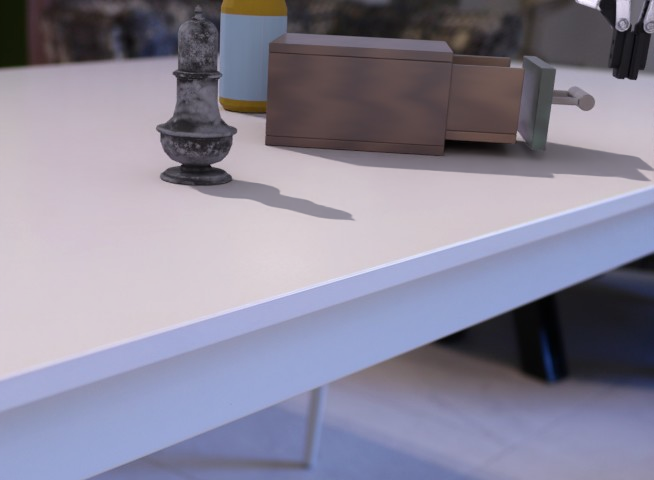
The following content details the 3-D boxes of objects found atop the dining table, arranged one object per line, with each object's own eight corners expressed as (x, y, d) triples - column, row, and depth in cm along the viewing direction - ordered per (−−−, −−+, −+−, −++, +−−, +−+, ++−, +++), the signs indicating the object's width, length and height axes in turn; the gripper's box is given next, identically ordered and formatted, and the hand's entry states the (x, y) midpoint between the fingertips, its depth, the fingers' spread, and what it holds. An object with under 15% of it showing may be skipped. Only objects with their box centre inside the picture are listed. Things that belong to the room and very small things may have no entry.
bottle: (232, 113, 110) (237, -41, 105) (209, 104, 116) (212, -42, 110) (293, 112, 113) (300, -38, 107) (267, 104, 119) (273, -39, 113)
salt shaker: (230, 170, 80) (235, 4, 76) (241, 186, 75) (246, 8, 71) (153, 169, 79) (153, 1, 75) (158, 185, 74) (158, 4, 70)
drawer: (570, 130, 103) (580, 58, 100) (594, 153, 90) (607, 71, 88) (379, 119, 104) (384, 48, 102) (377, 140, 92) (383, 59, 89)
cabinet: (436, 131, 105) (445, 41, 102) (443, 155, 91) (453, 52, 88) (281, 122, 106) (285, 32, 103) (265, 144, 92) (268, 42, 89)
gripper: (741, -141, 91) (698, 79, 97) (565, -150, 92) (534, 68, 98) (770, -149, 84) (721, 88, 90) (579, -159, 85) (545, 76, 92)
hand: (624, 77), depth 94 cm, fingers closed
